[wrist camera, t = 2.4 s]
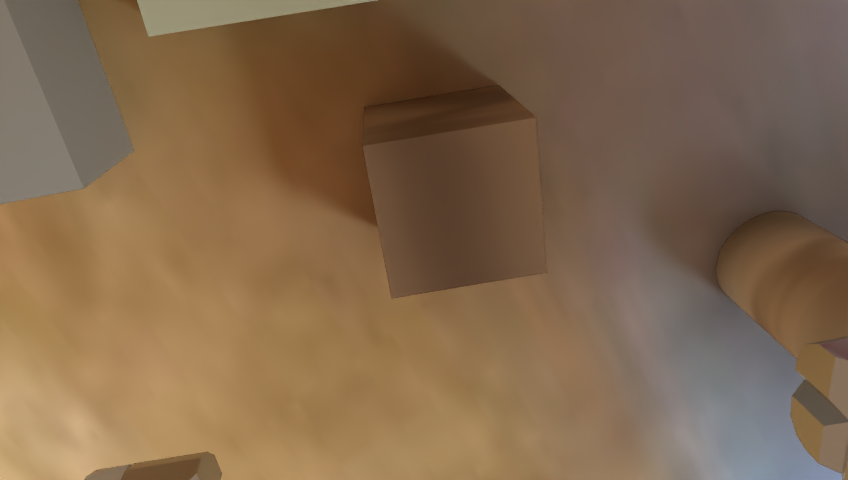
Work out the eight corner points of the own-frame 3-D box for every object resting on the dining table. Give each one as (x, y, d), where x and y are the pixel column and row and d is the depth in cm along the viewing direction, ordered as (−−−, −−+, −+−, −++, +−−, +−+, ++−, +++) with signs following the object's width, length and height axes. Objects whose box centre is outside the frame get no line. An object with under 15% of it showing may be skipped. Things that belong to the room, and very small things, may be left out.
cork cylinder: (823, 203, 23) (937, 261, 18) (810, 295, 24) (912, 369, 20) (718, 220, 23) (805, 282, 18) (713, 311, 24) (791, 389, 20)
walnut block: (498, 84, 20) (536, 117, 16) (510, 210, 22) (547, 272, 17) (364, 106, 20) (362, 146, 16) (387, 230, 22) (391, 298, 17)
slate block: (61, -49, 18) (-19, -55, 14) (135, 149, 20) (83, 188, 16) (-75, -24, 18) (-192, -24, 14) (16, 171, 20) (-63, 215, 16)
